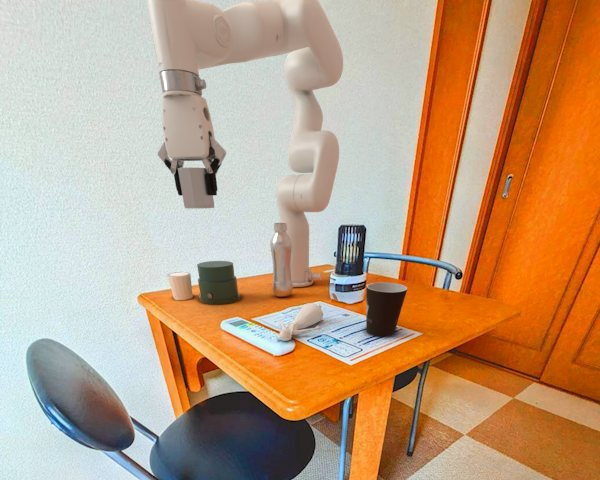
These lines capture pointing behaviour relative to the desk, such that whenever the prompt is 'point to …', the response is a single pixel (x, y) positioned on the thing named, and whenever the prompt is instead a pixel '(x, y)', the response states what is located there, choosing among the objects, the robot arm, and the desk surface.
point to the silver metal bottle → (281, 261)
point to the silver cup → (195, 188)
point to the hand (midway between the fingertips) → (197, 194)
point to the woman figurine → (302, 321)
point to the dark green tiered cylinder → (217, 283)
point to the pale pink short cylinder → (180, 285)
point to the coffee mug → (383, 307)
